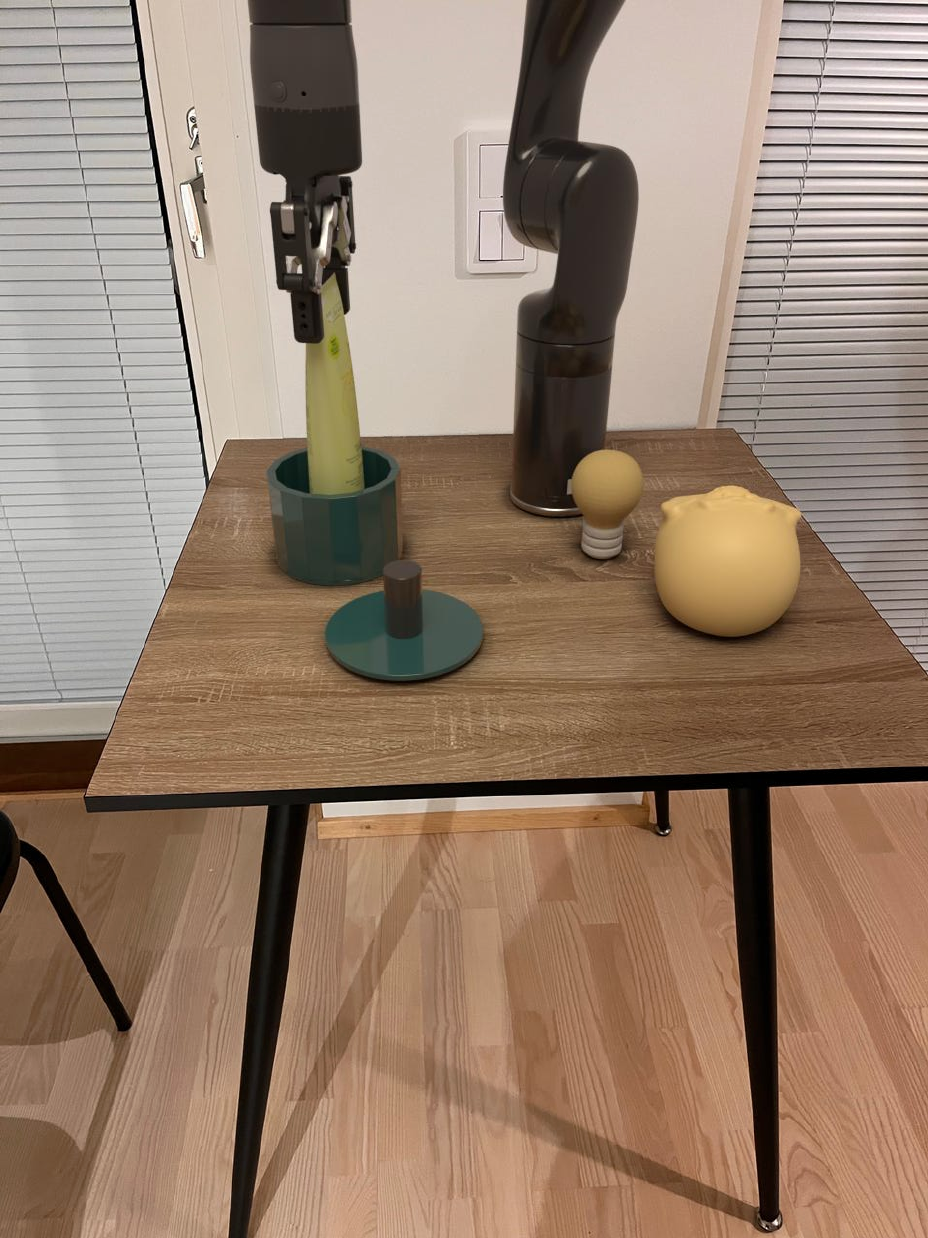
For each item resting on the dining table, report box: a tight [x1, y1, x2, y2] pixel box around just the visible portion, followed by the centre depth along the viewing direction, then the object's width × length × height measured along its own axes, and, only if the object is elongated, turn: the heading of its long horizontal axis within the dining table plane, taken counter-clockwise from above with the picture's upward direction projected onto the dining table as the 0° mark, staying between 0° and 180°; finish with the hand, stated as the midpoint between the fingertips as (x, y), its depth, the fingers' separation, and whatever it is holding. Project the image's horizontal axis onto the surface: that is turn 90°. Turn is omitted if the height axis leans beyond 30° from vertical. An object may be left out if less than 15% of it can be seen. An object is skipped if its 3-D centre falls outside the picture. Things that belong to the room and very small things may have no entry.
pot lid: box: [324, 559, 484, 682], centre depth 75 cm, size 13×13×7 cm
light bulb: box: [571, 449, 644, 560], centre depth 87 cm, size 6×6×10 cm
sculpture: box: [653, 485, 802, 638], centre depth 78 cm, size 12×12×11 cm
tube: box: [304, 273, 365, 495], centre depth 81 cm, size 6×5×20 cm
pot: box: [265, 444, 404, 587], centre depth 87 cm, size 12×12×8 cm
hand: (323, 326), depth 77 cm, fingers closed on tube, 7 cm apart
